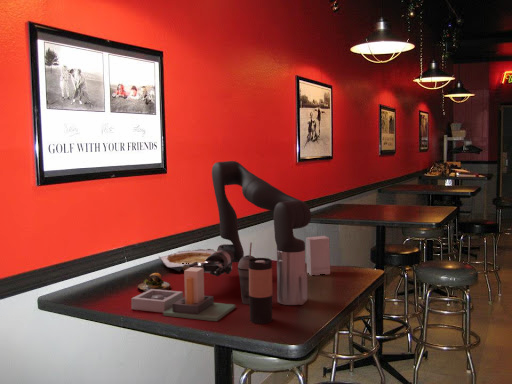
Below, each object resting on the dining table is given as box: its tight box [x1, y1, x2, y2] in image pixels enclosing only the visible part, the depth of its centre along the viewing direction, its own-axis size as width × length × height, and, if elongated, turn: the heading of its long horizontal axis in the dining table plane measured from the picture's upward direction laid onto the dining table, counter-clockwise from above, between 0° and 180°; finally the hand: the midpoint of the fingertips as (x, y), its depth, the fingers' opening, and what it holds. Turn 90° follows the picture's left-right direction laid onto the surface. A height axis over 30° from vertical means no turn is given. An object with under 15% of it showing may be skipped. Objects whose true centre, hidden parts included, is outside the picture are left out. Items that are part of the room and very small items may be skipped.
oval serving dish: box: [158, 248, 217, 272], centre depth 234 cm, size 32×4×23 cm
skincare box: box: [305, 235, 331, 277], centre depth 213 cm, size 8×6×15 cm
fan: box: [130, 289, 184, 314], centre depth 176 cm, size 16×18×4 cm
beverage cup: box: [237, 242, 256, 305], centre depth 175 cm, size 7×7×20 cm
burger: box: [136, 269, 172, 292], centre depth 194 cm, size 12×12×8 cm
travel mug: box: [248, 257, 273, 325], centre depth 157 cm, size 7×7×18 cm
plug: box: [183, 267, 205, 305], centre depth 167 cm, size 4×6×12 cm
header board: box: [162, 295, 236, 322], centre depth 167 cm, size 18×14×4 cm
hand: (204, 272), depth 178 cm, fingers open, 8 cm apart
